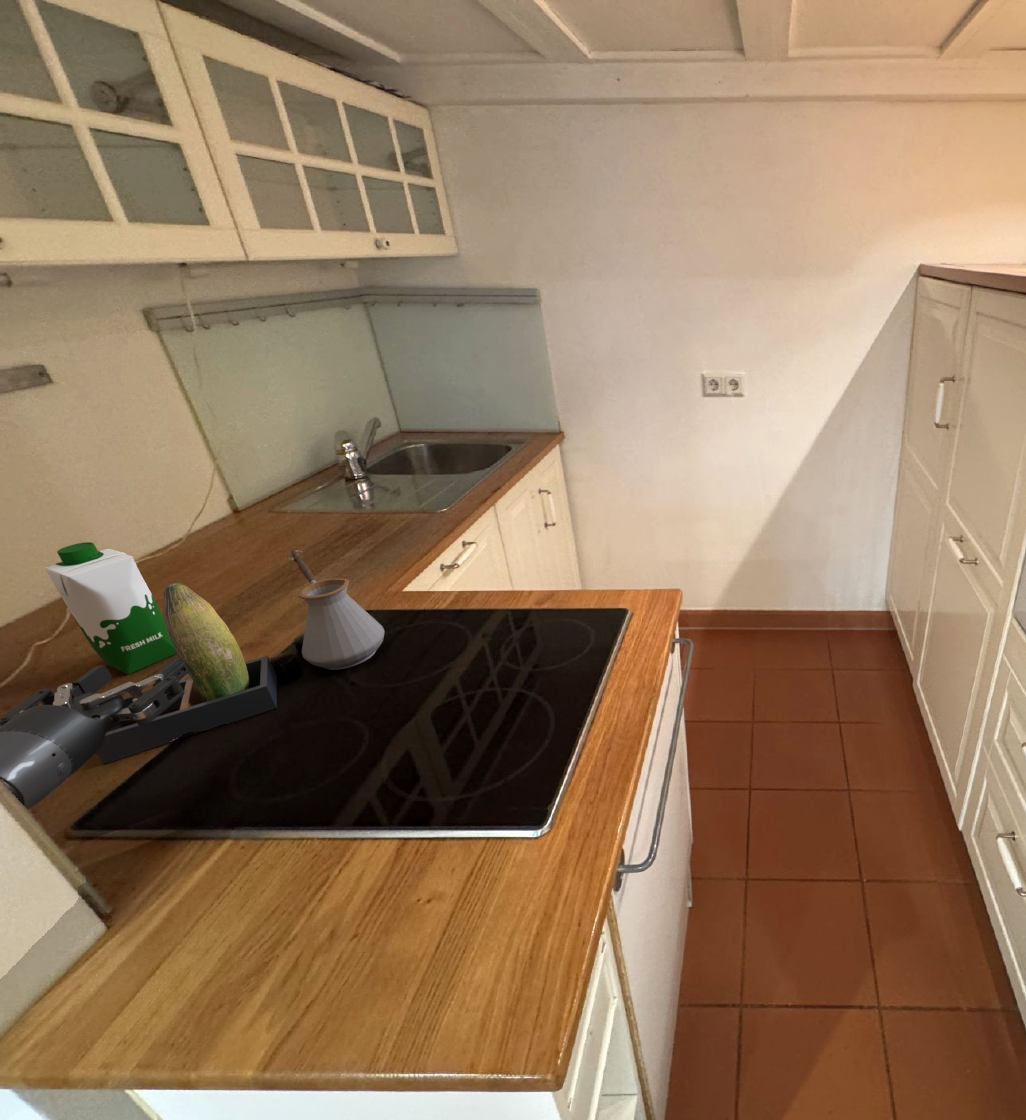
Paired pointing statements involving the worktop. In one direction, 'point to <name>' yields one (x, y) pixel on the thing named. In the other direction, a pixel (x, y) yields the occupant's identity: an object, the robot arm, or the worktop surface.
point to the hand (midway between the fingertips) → (144, 667)
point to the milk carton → (112, 606)
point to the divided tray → (193, 714)
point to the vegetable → (204, 643)
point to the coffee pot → (335, 624)
